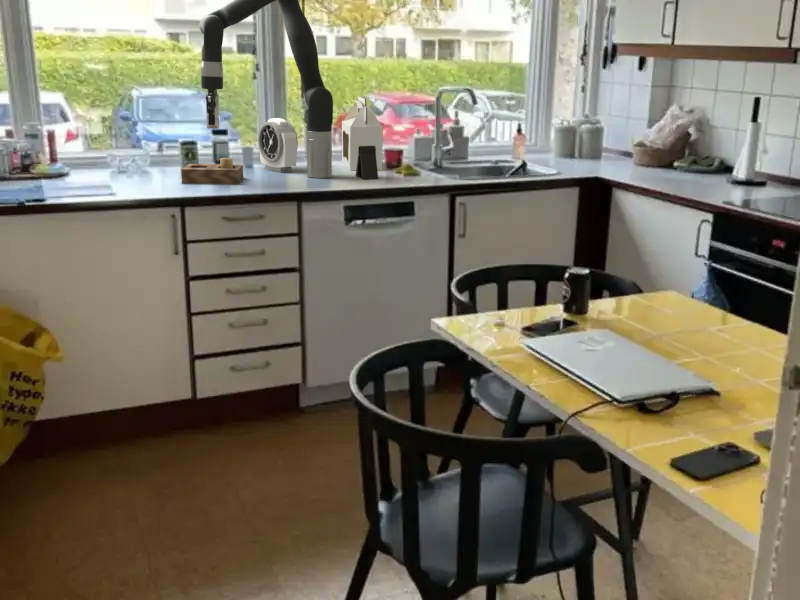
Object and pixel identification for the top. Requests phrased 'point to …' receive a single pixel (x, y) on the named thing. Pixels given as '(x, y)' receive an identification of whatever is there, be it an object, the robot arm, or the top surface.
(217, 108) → the steel bushing
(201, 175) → the block
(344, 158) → the gable box
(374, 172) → the door stopper
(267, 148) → the alarm clock
